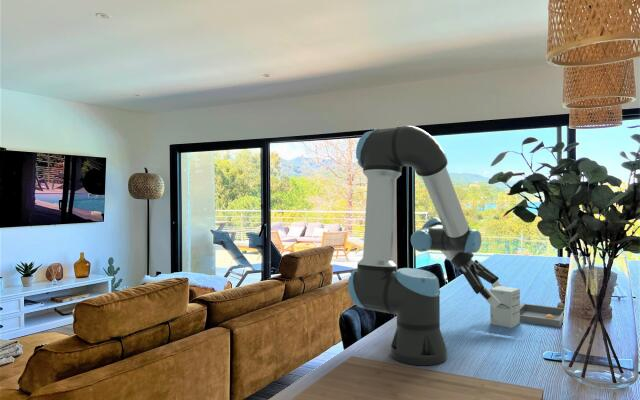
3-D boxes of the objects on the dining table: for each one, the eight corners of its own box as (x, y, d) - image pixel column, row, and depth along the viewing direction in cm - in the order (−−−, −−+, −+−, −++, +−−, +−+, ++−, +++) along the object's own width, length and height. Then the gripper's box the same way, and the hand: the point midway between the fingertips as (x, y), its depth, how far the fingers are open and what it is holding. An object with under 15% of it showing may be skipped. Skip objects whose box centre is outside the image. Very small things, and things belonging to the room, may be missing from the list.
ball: (553, 325, 148) (553, 316, 148) (543, 323, 150) (543, 314, 150) (555, 323, 151) (555, 314, 151) (545, 321, 152) (545, 312, 152)
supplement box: (489, 326, 151) (489, 288, 151) (499, 321, 156) (498, 285, 156) (511, 330, 146) (511, 291, 146) (520, 325, 151) (520, 288, 151)
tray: (559, 329, 146) (559, 320, 146) (510, 322, 155) (510, 313, 155) (568, 317, 160) (568, 308, 160) (523, 311, 169) (523, 303, 169)
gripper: (452, 251, 149) (501, 302, 140) (476, 243, 169) (520, 287, 160) (437, 266, 152) (484, 316, 143) (462, 256, 172) (504, 300, 163)
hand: (503, 301), depth 152 cm, fingers open, 13 cm apart
